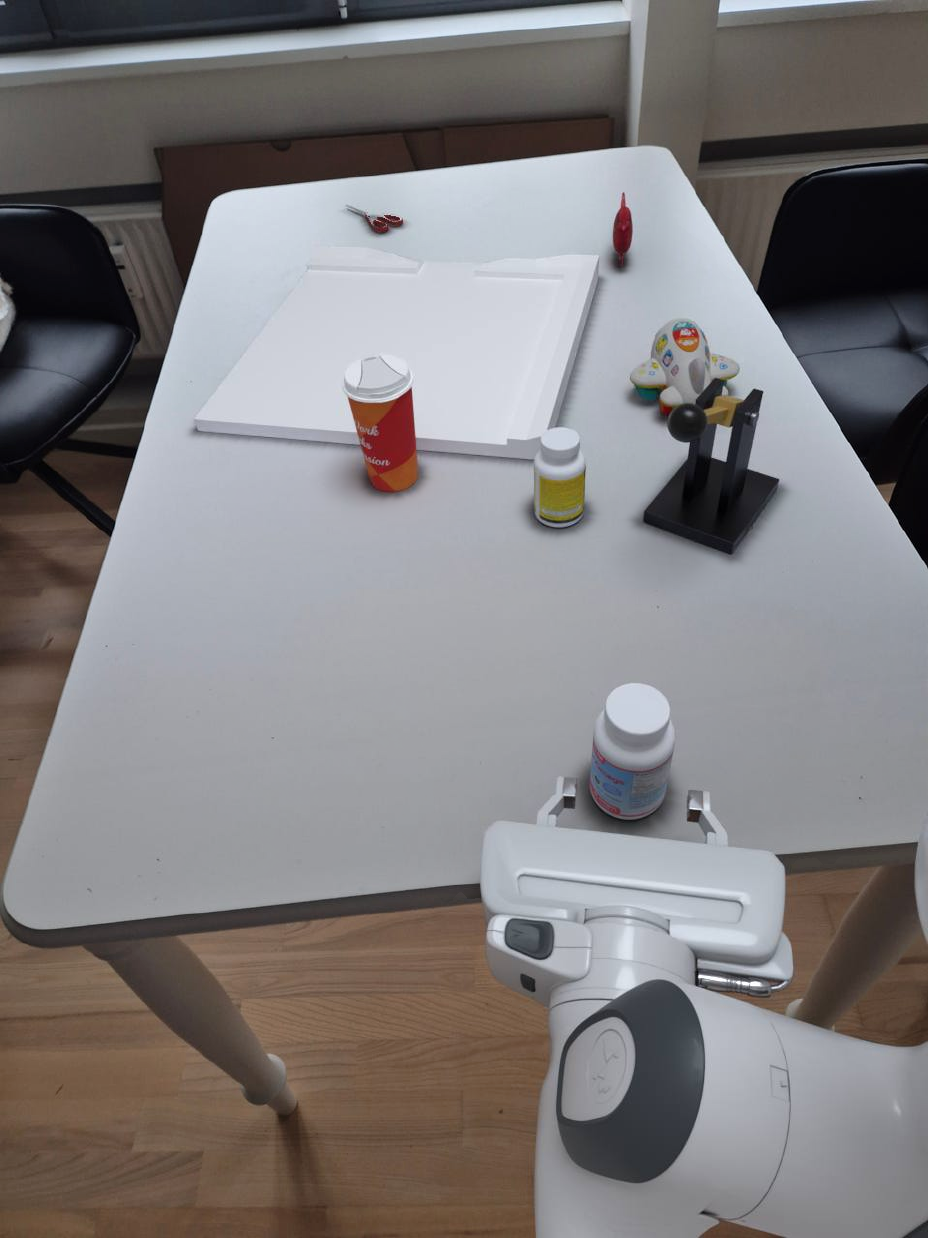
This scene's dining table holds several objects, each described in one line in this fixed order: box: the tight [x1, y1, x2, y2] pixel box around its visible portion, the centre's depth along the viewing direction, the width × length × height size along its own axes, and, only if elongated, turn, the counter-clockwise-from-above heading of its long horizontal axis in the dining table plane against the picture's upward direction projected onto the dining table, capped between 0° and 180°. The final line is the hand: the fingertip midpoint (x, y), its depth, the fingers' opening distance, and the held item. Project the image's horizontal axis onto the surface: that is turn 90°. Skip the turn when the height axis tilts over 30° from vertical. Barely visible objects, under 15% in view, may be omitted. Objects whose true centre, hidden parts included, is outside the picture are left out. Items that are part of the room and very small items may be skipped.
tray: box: [193, 245, 600, 461], centre depth 119 cm, size 45×45×4 cm
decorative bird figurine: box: [612, 191, 634, 267], centre depth 131 cm, size 3×18×10 cm, turn 173°
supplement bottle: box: [533, 426, 587, 528], centre depth 91 cm, size 5×5×10 cm
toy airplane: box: [629, 317, 741, 416], centre depth 105 cm, size 13×9×15 cm
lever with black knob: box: [667, 395, 745, 444], centre depth 80 cm, size 14×3×3 cm, turn 145°
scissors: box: [345, 204, 404, 233], centre depth 151 cm, size 5×14×1 cm, turn 41°
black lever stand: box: [642, 378, 780, 555], centre depth 88 cm, size 12×10×14 cm
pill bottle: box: [589, 682, 677, 821], centre depth 66 cm, size 6×6×11 cm
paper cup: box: [342, 355, 419, 493], centre depth 96 cm, size 8×8×14 cm
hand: (631, 787), depth 63 cm, fingers open, 8 cm apart
